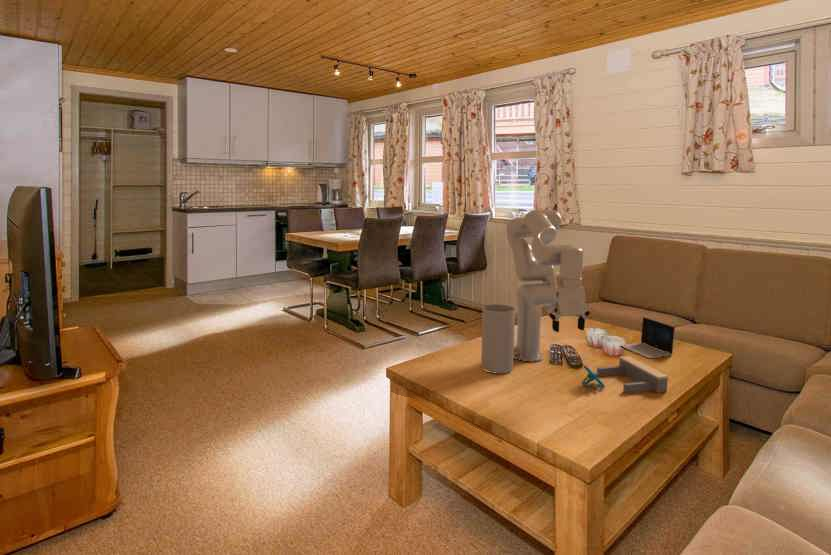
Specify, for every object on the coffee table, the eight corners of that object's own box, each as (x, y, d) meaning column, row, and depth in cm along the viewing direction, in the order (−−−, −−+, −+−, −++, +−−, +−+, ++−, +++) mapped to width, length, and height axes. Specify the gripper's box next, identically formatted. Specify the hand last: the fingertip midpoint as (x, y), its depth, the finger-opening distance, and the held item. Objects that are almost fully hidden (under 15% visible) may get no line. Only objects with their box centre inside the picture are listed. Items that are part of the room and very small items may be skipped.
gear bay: (629, 395, 177) (630, 379, 176) (593, 373, 199) (594, 358, 198) (667, 391, 181) (668, 376, 180) (627, 369, 202) (628, 355, 201)
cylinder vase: (475, 366, 207) (476, 306, 202) (501, 362, 211) (503, 303, 207) (491, 376, 195) (493, 313, 191) (519, 372, 200) (521, 310, 196)
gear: (609, 388, 180) (588, 367, 181) (596, 399, 181) (576, 378, 182) (602, 380, 191) (583, 361, 192) (590, 391, 192) (571, 371, 193)
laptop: (619, 346, 231) (621, 319, 229) (641, 344, 236) (643, 316, 233) (649, 359, 215) (651, 329, 212) (672, 356, 219) (675, 327, 217)
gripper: (552, 285, 172) (550, 334, 175) (598, 283, 176) (596, 331, 179) (542, 282, 180) (540, 329, 182) (586, 280, 183) (584, 326, 186)
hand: (568, 330), depth 181 cm, fingers open, 9 cm apart
